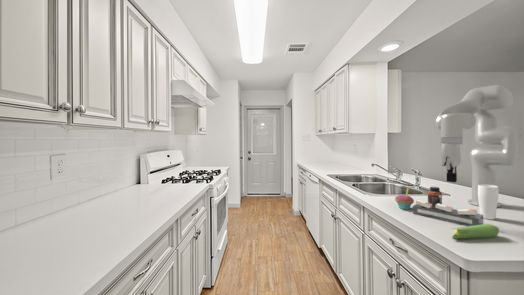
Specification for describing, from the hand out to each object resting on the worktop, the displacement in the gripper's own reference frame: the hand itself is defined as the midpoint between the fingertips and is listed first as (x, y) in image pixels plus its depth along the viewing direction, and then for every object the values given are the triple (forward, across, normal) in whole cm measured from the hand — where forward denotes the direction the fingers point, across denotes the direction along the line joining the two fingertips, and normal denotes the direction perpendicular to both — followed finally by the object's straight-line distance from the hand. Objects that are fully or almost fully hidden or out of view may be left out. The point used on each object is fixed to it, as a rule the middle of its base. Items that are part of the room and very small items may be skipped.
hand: (451, 181), depth 102 cm
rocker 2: (+12, +2, -2) cm, 13 cm away
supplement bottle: (+18, -14, -11) cm, 25 cm away
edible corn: (+18, +16, +10) cm, 26 cm away
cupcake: (+18, -2, -21) cm, 28 cm away
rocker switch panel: (+18, 0, -2) cm, 18 cm away
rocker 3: (+12, +2, +6) cm, 14 cm away
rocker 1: (+12, +2, -10) cm, 16 cm away
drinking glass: (+18, -15, +9) cm, 25 cm away
